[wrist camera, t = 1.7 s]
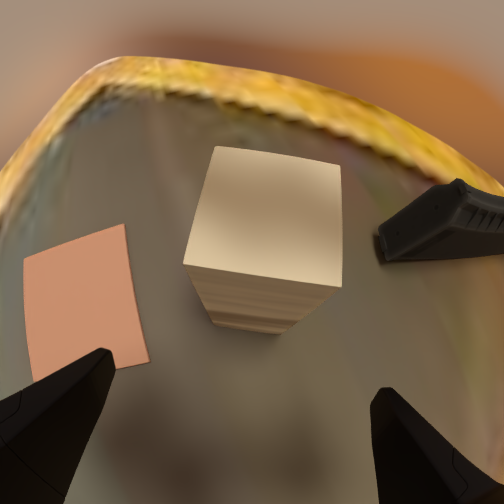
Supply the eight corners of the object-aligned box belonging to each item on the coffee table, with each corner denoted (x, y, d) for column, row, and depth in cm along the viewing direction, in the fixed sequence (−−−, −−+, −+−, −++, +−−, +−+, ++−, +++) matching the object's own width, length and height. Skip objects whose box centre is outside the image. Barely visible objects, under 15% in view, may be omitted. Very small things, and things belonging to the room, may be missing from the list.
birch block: (280, 334, 20) (341, 287, 9) (214, 325, 21) (182, 263, 9) (287, 272, 22) (340, 165, 11) (225, 263, 23) (215, 145, 11)
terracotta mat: (150, 361, 19) (149, 361, 19) (36, 381, 17) (33, 381, 17) (125, 225, 23) (123, 223, 23) (26, 260, 21) (23, 258, 21)
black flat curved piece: (408, 216, 15) (601, 190, 9) (392, 172, 16) (589, 165, 10) (369, 287, 30) (537, 248, 24) (363, 261, 31) (530, 228, 26)
